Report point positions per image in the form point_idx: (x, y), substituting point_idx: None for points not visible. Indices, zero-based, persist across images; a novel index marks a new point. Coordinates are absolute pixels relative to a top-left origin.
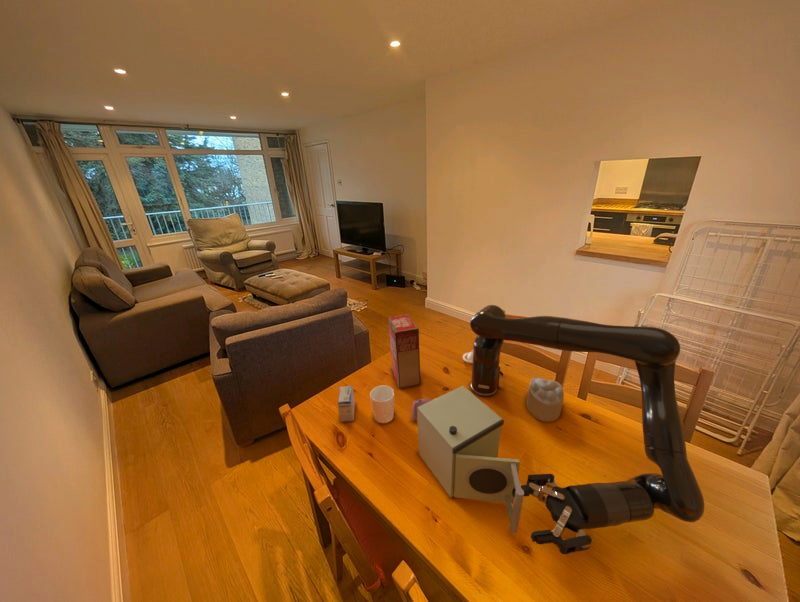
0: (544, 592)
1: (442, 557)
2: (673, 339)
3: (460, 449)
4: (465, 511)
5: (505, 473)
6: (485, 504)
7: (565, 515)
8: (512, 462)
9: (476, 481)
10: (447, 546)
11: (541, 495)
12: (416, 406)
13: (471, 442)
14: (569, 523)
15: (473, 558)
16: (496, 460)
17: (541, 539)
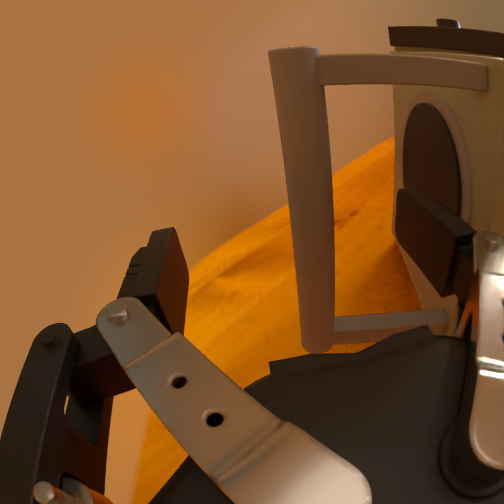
0: (151, 431)
1: (255, 237)
2: None
3: (412, 42)
4: (371, 267)
5: (461, 145)
6: (412, 309)
7: (227, 432)
8: (479, 60)
9: (409, 169)
10: (277, 242)
11: (462, 322)
12: None
13: (455, 43)
14: (172, 475)
15: (252, 282)
16: (442, 54)
17: (133, 258)
